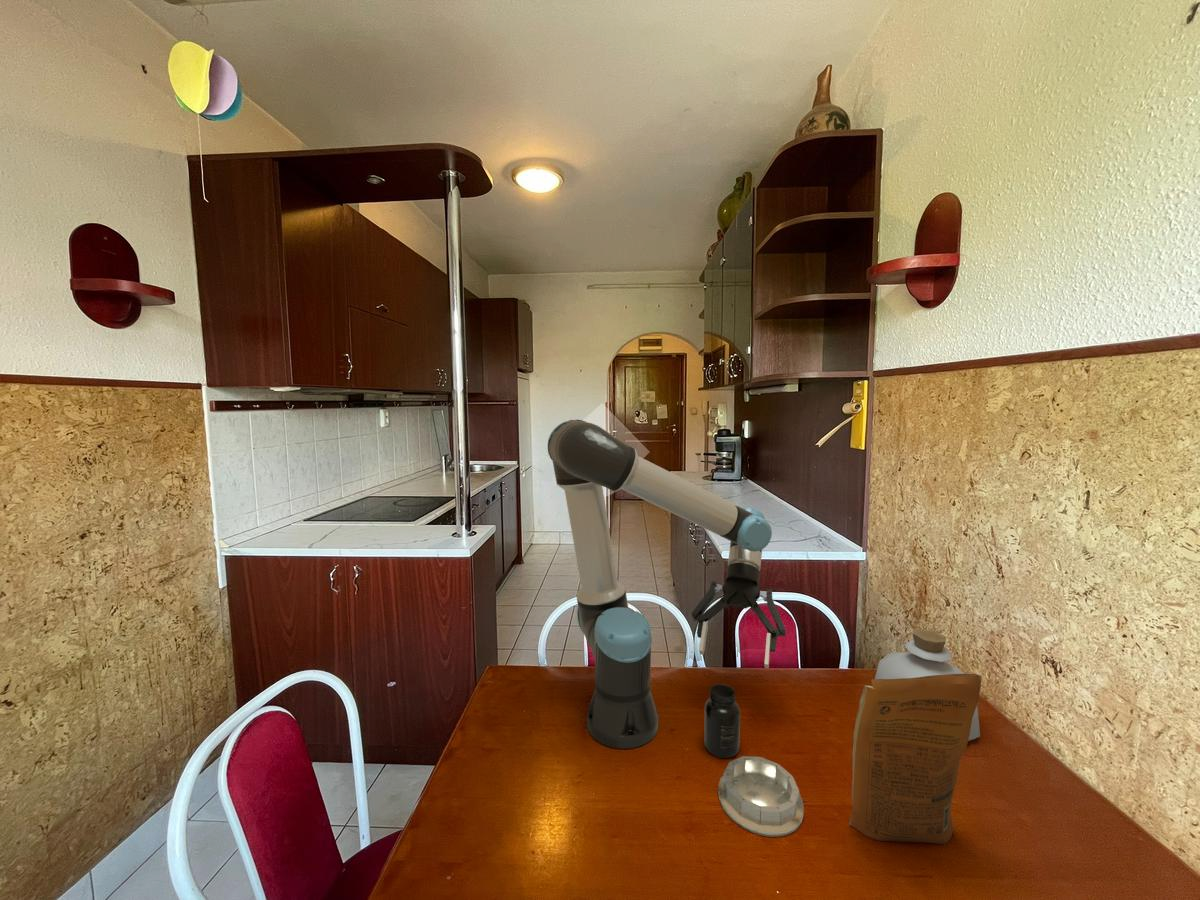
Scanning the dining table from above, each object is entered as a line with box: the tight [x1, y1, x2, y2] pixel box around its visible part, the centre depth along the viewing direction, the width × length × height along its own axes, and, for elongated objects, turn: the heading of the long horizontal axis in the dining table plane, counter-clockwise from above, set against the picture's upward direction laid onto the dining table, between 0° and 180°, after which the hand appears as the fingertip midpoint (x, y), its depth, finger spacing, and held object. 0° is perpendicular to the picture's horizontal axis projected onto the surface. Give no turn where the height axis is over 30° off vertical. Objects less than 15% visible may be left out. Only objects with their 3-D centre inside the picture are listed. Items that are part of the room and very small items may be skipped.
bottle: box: [874, 628, 981, 742], centre depth 106 cm, size 20×20×19 cm
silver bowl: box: [717, 755, 805, 838], centre depth 85 cm, size 14×14×4 cm
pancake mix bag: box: [848, 673, 983, 845], centre depth 77 cm, size 7×19×28 cm, turn 87°
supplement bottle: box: [703, 683, 741, 759], centre depth 97 cm, size 7×7×12 cm
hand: (733, 659), depth 105 cm, fingers open, 13 cm apart
